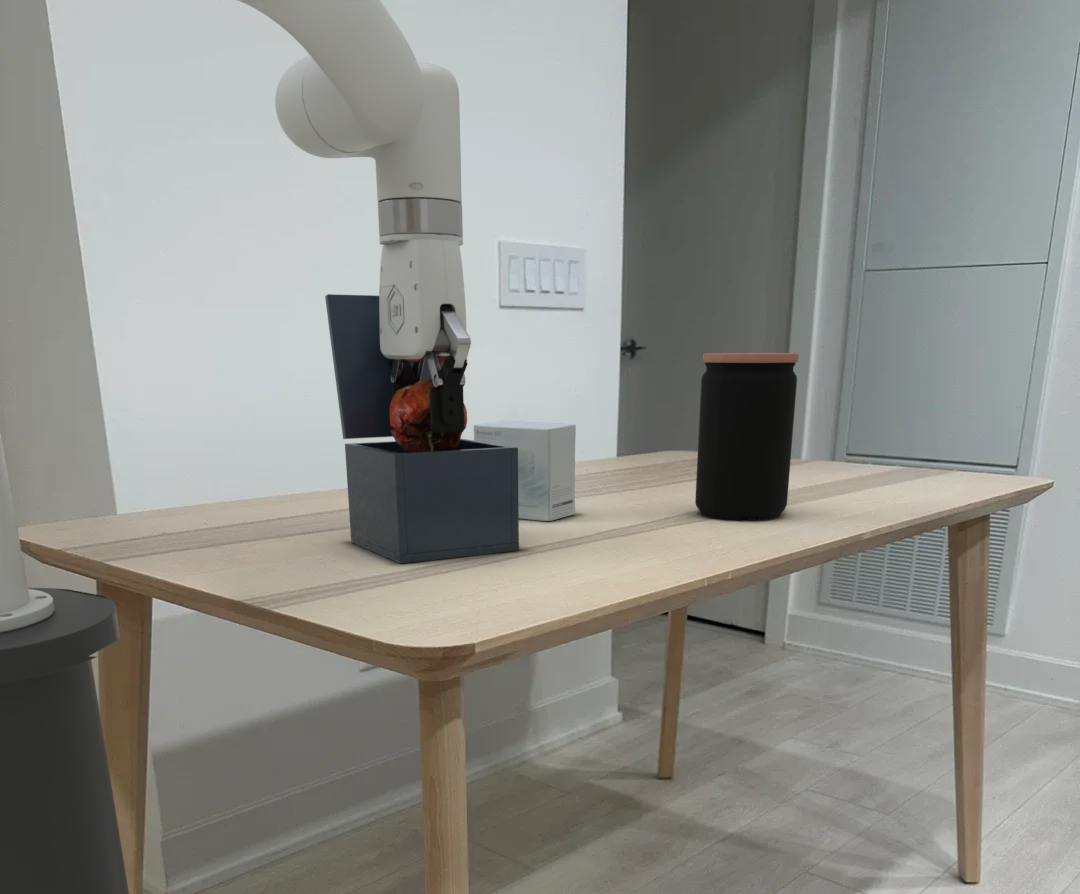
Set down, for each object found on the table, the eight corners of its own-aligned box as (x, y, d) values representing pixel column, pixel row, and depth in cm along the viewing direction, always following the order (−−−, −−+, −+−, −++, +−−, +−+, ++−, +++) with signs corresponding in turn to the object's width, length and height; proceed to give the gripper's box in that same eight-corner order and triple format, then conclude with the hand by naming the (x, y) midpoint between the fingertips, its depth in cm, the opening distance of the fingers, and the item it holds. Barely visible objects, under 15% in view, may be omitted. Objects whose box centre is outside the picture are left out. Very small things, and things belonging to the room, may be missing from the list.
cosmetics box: (473, 514, 120) (471, 423, 117) (503, 508, 126) (502, 419, 122) (548, 522, 115) (548, 426, 112) (576, 514, 120) (577, 423, 117)
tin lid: (446, 297, 103) (443, 298, 104) (327, 294, 97) (324, 296, 98) (460, 433, 105) (457, 433, 106) (345, 438, 99) (342, 439, 100)
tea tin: (519, 550, 99) (518, 447, 96) (400, 563, 93) (394, 454, 90) (461, 531, 109) (459, 437, 106) (351, 542, 103) (344, 443, 100)
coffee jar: (803, 514, 120) (817, 353, 114) (751, 524, 113) (763, 353, 107) (729, 505, 127) (739, 353, 121) (676, 514, 120) (683, 353, 114)
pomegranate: (474, 481, 97) (469, 411, 102) (465, 422, 91) (460, 350, 96) (397, 490, 97) (396, 419, 102) (382, 431, 91) (382, 358, 96)
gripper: (346, 233, 97) (358, 425, 103) (422, 213, 82) (430, 437, 88) (419, 237, 100) (426, 422, 106) (503, 219, 86) (506, 433, 92)
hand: (428, 428), depth 97 cm, fingers closed on pomegranate, 7 cm apart
